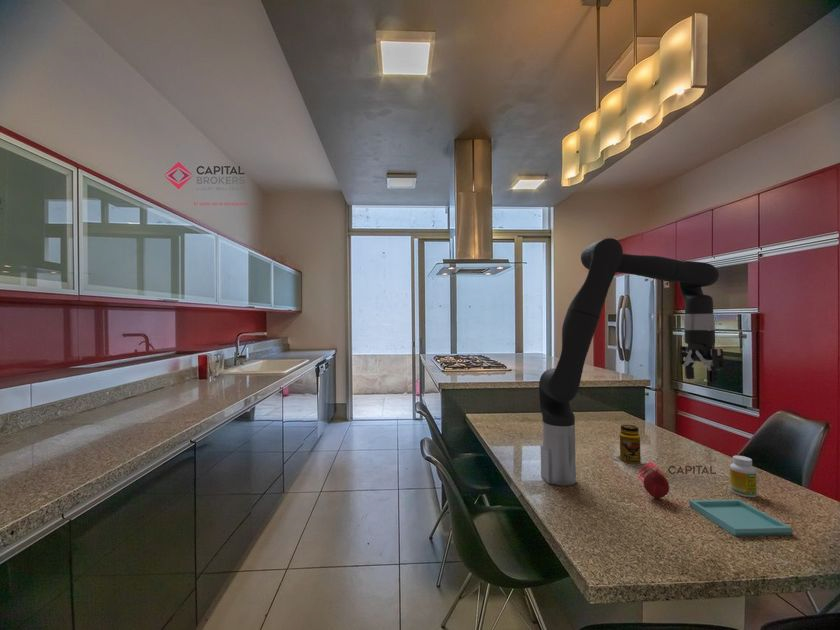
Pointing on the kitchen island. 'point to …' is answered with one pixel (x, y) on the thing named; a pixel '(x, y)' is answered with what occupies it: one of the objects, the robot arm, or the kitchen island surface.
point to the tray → (740, 518)
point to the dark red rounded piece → (656, 484)
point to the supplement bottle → (743, 477)
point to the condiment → (629, 446)
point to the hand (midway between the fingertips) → (700, 380)
